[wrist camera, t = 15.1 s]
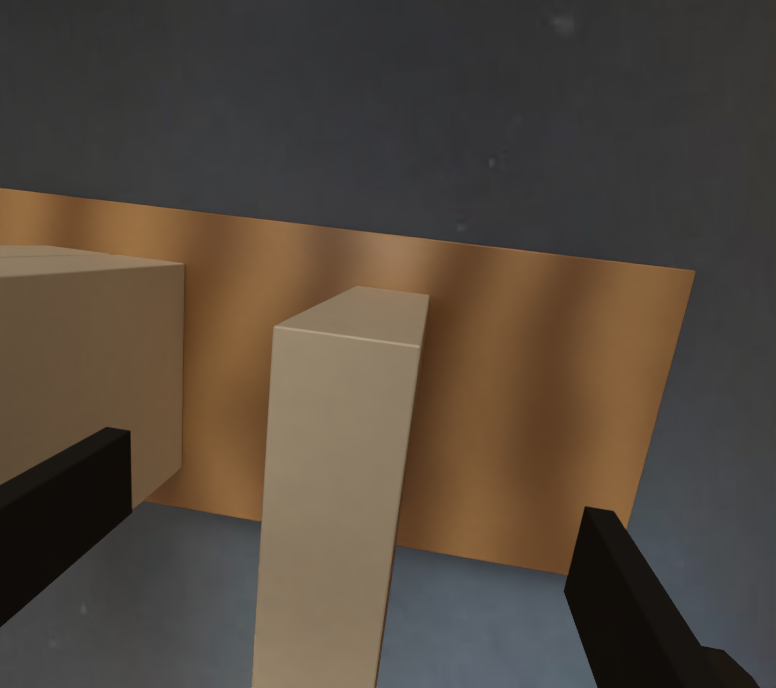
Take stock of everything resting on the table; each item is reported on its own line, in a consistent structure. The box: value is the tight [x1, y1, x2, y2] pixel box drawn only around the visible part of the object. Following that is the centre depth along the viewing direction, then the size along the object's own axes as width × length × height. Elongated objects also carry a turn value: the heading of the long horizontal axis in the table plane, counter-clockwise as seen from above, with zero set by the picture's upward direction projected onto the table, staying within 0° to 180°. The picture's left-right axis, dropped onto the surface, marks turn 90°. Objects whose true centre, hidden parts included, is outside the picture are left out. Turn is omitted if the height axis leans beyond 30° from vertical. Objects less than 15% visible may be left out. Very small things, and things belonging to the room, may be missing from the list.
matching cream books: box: [0, 245, 185, 510], centre depth 18 cm, size 7×11×11 cm, turn 173°
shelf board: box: [0, 188, 696, 576], centre depth 23 cm, size 34×16×1 cm, turn 83°
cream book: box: [252, 286, 430, 688], centre depth 17 cm, size 4×11×11 cm, turn 173°
